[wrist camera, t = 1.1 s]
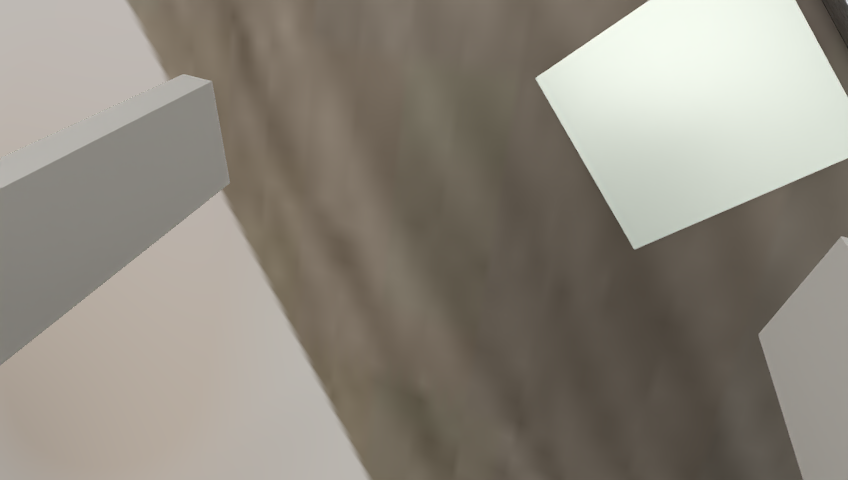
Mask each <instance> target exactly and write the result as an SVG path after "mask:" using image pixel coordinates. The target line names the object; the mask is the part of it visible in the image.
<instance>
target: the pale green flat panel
mask: <svg viewBox="0 0 848 480" xmlns="http://www.w3.org/2000/svg"><path fill="white" fill-rule="evenodd" d="M535 79H536V80H537V82H538V84H539V86H540V87H541V89H542V91H543V92H544V94H545V96H546V98H547V99H548V101H549V103H550V105H551V106H552V108H553V110H554V111H555V113H556V115H557V117H558V118H559V120H560V122H561V124H562V125H563V127H564V129H565V131H566V132H567V134H568V136H569V137H570V139H571V141H572V143H573V144H574V146H575V148H576V150H577V151H578V153H579V155H580V156H581V158H582V160H583V162H584V163H585V165H586V167H587V169H588V170H589V172H590V174H591V176H592V177H593V179H594V181H595V182H596V184H597V186H598V188H599V189H600V191H601V193H602V195H603V196H604V198H605V200H606V201H607V203H608V205H609V207H610V208H611V210H612V212H613V214H614V215H615V217H616V219H617V221H618V222H619V224H620V226H621V227H622V229H623V231H624V233H625V234H626V236H627V238H628V240H629V241H630V243H631V245H632V246H633V248H634V250H635V249H637V248H639V247H642V246H644V245H646V244H649V243H651V242H653V241H656V240H658V239H660V238H663V237H665V236H667V235H670V234H672V233H674V232H677V231H679V230H681V229H684V228H686V227H688V226H691V225H693V224H695V223H698V222H700V221H702V220H704V219H707V218H709V217H711V216H714V215H716V214H718V213H721V212H723V211H725V210H728V209H730V208H732V207H735V206H737V205H739V204H742V203H744V202H746V201H749V200H751V199H753V198H756V197H758V196H760V195H763V194H765V193H767V192H770V191H772V190H774V189H777V188H779V187H781V186H784V185H786V184H788V183H791V182H793V181H795V180H798V179H800V178H802V177H805V176H807V175H809V174H812V173H814V172H816V171H819V170H821V169H823V168H826V167H828V166H830V165H833V164H835V163H837V162H840V161H842V160H844V159H847V158H848V97H847V95H846V93H845V91H844V89H843V88H842V86H841V84H840V82H839V80H838V78H837V77H836V75H835V73H834V71H833V69H832V67H831V65H830V64H829V62H828V60H827V58H826V56H825V54H824V53H823V51H822V49H821V47H820V45H819V43H818V41H817V40H816V38H815V36H814V34H813V32H812V30H811V29H810V27H809V25H808V23H807V21H806V19H805V17H804V16H803V14H802V12H801V10H800V8H799V6H798V5H797V3H796V1H795V0H649V1H648V2H646V3H645V4H643V5H642V6H640V7H639V8H637V9H636V10H634V11H633V12H632V13H630V14H629V15H627V16H626V17H624V18H623V19H621V20H620V21H618V22H617V23H615V24H614V25H612V26H611V27H610V28H608V29H607V30H605V31H604V32H602V33H601V34H599V35H598V36H596V37H595V38H593V39H592V40H590V41H589V42H588V43H586V44H585V45H583V46H582V47H580V48H579V49H577V50H576V51H574V52H573V53H571V54H570V55H568V56H567V57H566V58H564V59H563V60H561V61H560V62H558V63H557V64H555V65H554V66H552V67H551V68H549V69H548V70H546V71H545V72H544V73H542V74H541V75H539V76H538V77H536V78H535Z"/></svg>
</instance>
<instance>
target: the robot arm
mask: <svg viewBox="0 0 848 480" xmlns="http://www.w3.org/2000/svg"><path fill="white" fill-rule="evenodd" d="M229 183H230V180H229V175H228V169H227V163H226V158H225V152H224V146H223V141H222V135H221V129H220V124H219V118H218V112H217V107H216V101H215V95H214V90H213V84H212V81H209V80H205V79H201V78H197V77H193V76H189V75H185V74H182V75H180V76H178V77H176V78H174V79H172V80H169V81H167V82H165V83H163V84H161V85H159V86H156V87H154V88H152V89H150V90H147V91H145V92H143V93H141V94H139V95H137V96H135V97H132V98H130V99H128V100H126V101H123V102H121V103H119V104H117V105H115V106H113V107H110V108H108V109H106V110H104V111H102V112H99V113H97V114H95V115H93V116H91V117H89V118H86V119H84V120H82V121H80V122H78V123H75V124H73V125H71V126H69V127H67V128H65V129H62V130H60V131H58V132H56V133H54V134H51V135H49V136H47V137H45V138H43V139H40V140H38V141H36V142H34V143H32V144H30V145H28V146H25V147H23V148H21V149H19V150H16V151H14V152H12V153H10V154H8V155H5V156H3V157H1V158H0V365H1V364H3V363H4V362H5V361H6V360H8V359H9V358H10V357H11V356H13V355H14V354H15V353H16V352H18V351H19V350H20V349H21V348H23V347H24V346H25V345H26V344H28V343H29V342H30V341H32V340H33V339H34V338H35V337H36V336H38V335H39V334H40V333H42V332H43V331H44V330H45V329H46V328H48V327H49V326H50V325H52V324H53V323H54V322H55V321H57V320H58V319H59V318H60V317H62V316H63V315H64V314H66V313H67V312H68V311H69V310H71V309H72V308H73V307H74V306H76V305H77V304H78V303H79V302H81V301H82V300H83V299H84V298H85V297H87V296H88V295H89V294H91V293H92V292H93V291H95V290H96V289H97V288H98V287H99V286H101V285H102V284H103V283H105V282H106V281H107V280H108V279H110V278H111V277H112V276H113V275H115V274H116V273H117V272H118V271H120V270H121V269H122V268H123V267H125V266H126V265H127V264H128V263H130V262H131V261H132V260H134V259H135V258H136V257H137V256H139V255H140V254H141V253H142V252H143V251H145V250H146V249H147V248H149V247H150V246H151V245H152V244H154V243H155V242H156V241H157V240H159V239H160V238H161V237H162V236H164V235H165V234H166V233H168V232H169V231H170V230H171V229H173V228H174V227H175V226H176V225H178V224H179V223H180V222H181V221H183V220H184V219H185V218H186V217H188V216H189V215H190V214H191V213H193V212H194V211H195V210H196V209H198V208H199V207H200V206H202V205H203V204H204V203H205V202H206V201H208V200H209V199H210V198H211V197H213V196H214V195H215V194H217V193H218V192H219V191H220V190H222V189H223V188H224V187H225V186H227V185H228V184H229ZM758 335H759V339H760V342H761V345H762V348H763V352H764V355H765V358H766V361H767V365H768V368H769V371H770V374H771V378H772V381H773V384H774V387H775V391H776V394H777V397H778V400H779V403H780V407H781V410H782V413H783V416H784V420H785V423H786V426H787V429H788V433H789V436H790V439H791V442H792V446H793V449H794V452H795V455H796V459H797V462H798V465H799V468H800V471H801V475H802V478H803V480H848V238H846V237H842V236H841V237H840V238H839V239H838V241H837V242H836V243H835V244H834V245H833V247H832V248H831V249H830V250H829V251H828V253H827V254H826V255H825V256H824V257H823V258H822V260H821V261H820V262H819V263H818V264H817V266H816V267H815V268H814V269H813V270H812V271H811V273H810V274H809V275H808V276H807V277H806V279H805V280H804V281H803V282H802V283H801V284H800V286H799V287H798V288H797V289H796V290H795V292H794V293H793V294H792V295H791V296H790V298H789V299H788V300H787V301H786V302H785V303H784V305H783V306H782V307H781V308H780V309H779V311H778V312H777V313H776V314H775V315H774V316H773V318H772V319H771V320H770V321H769V322H768V324H767V325H766V326H765V327H764V328H763V329H762V331H761V332H760V333H759V334H758Z"/></svg>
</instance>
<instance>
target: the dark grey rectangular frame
mask: <svg viewBox="0 0 848 480" xmlns="http://www.w3.org/2000/svg"><path fill="white" fill-rule="evenodd" d="M822 1H823V3H824V5H825V6H826V8H827V10H828V12H829V14H830V16H831V18H832V19H833V21H834V23H835V25H836V27H837V29H838V31H839V32H840V34H841V36H842V38H843V40H844V42H845V44H846V45H847V47H848V0H822Z"/></svg>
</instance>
